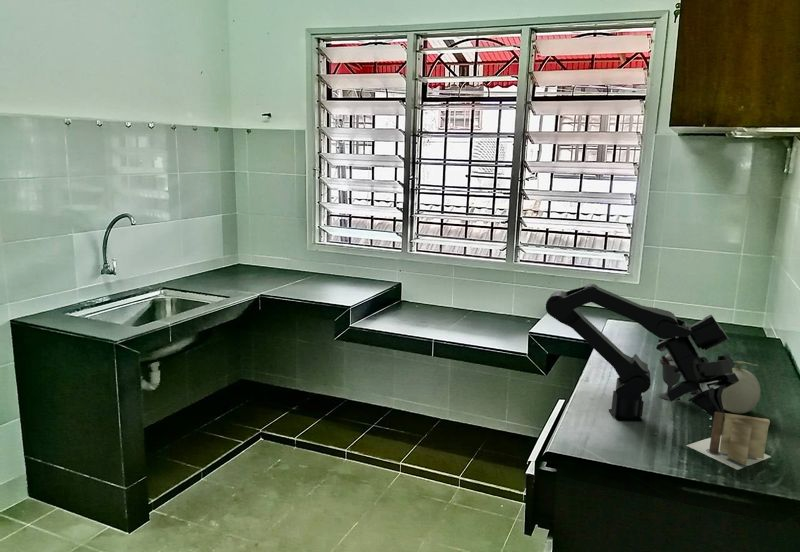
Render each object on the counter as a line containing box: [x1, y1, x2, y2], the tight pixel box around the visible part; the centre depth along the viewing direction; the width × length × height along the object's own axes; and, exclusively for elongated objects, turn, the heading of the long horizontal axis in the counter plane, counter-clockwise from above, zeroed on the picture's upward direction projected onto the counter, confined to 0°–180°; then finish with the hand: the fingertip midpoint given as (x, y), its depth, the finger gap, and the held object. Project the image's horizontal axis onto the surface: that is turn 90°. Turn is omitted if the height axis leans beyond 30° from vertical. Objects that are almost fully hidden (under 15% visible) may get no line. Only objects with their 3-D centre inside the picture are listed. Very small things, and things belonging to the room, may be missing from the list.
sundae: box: [658, 353, 682, 401], centre depth 163 cm, size 7×7×15 cm
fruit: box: [721, 360, 761, 415], centre depth 156 cm, size 10×12×15 cm
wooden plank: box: [709, 412, 753, 465], centre depth 130 cm, size 8×2×9 cm, turn 29°
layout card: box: [686, 434, 772, 471], centre depth 134 cm, size 12×12×1 cm
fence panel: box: [720, 412, 771, 459], centre depth 131 cm, size 9×1×9 cm, turn 72°
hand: (723, 421), depth 135 cm, fingers closed
